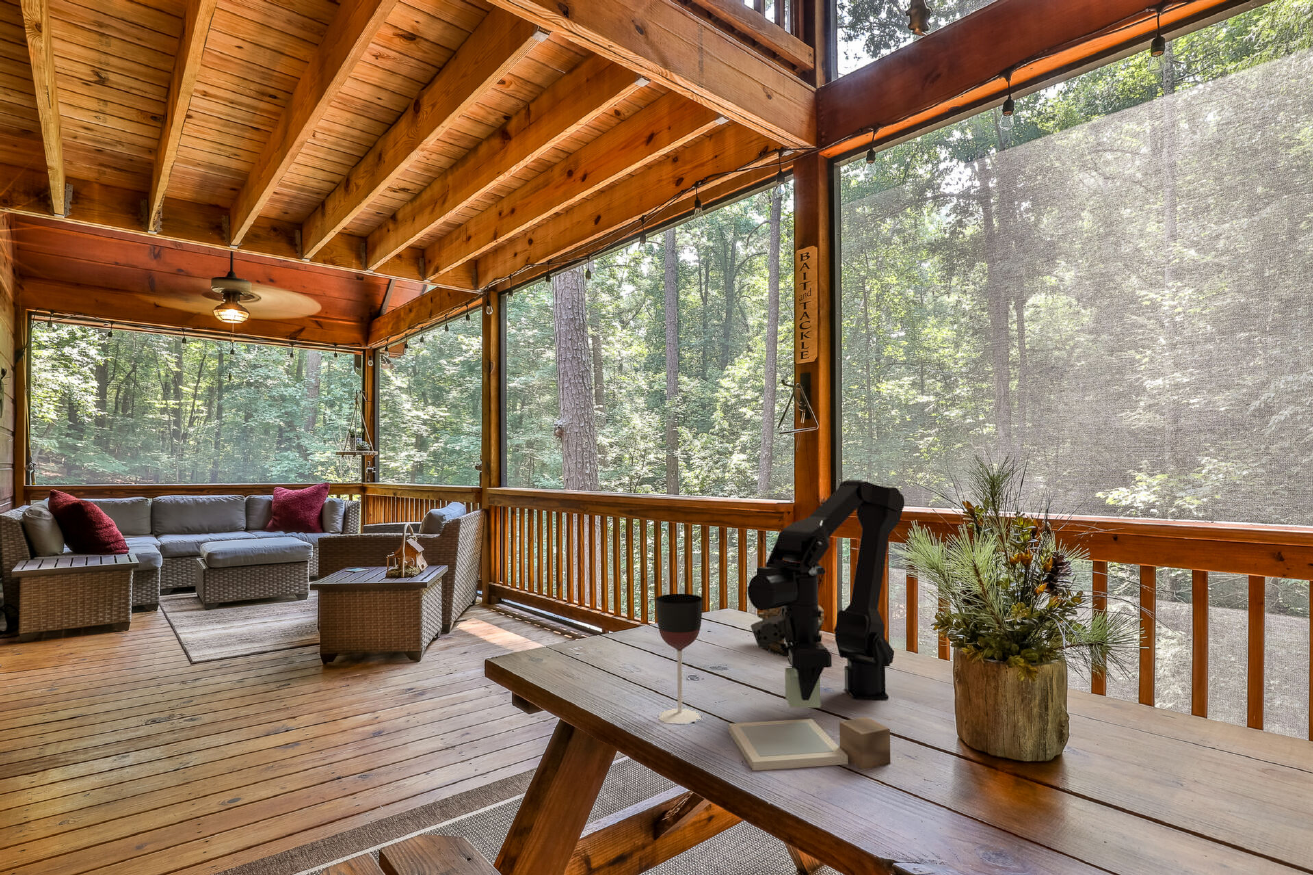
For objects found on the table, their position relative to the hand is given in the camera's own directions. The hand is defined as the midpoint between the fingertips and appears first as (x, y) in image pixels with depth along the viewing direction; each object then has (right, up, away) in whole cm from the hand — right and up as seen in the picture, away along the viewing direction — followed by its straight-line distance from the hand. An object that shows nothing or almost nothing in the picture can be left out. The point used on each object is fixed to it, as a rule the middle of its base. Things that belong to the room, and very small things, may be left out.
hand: (802, 694), depth 113 cm
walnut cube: (+5, -3, -16) cm, 17 cm away
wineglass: (-21, -4, +1) cm, 21 cm away
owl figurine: (+7, -6, +42) cm, 43 cm away
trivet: (-5, -3, -12) cm, 13 cm away
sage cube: (0, -1, 0) cm, 1 cm away
